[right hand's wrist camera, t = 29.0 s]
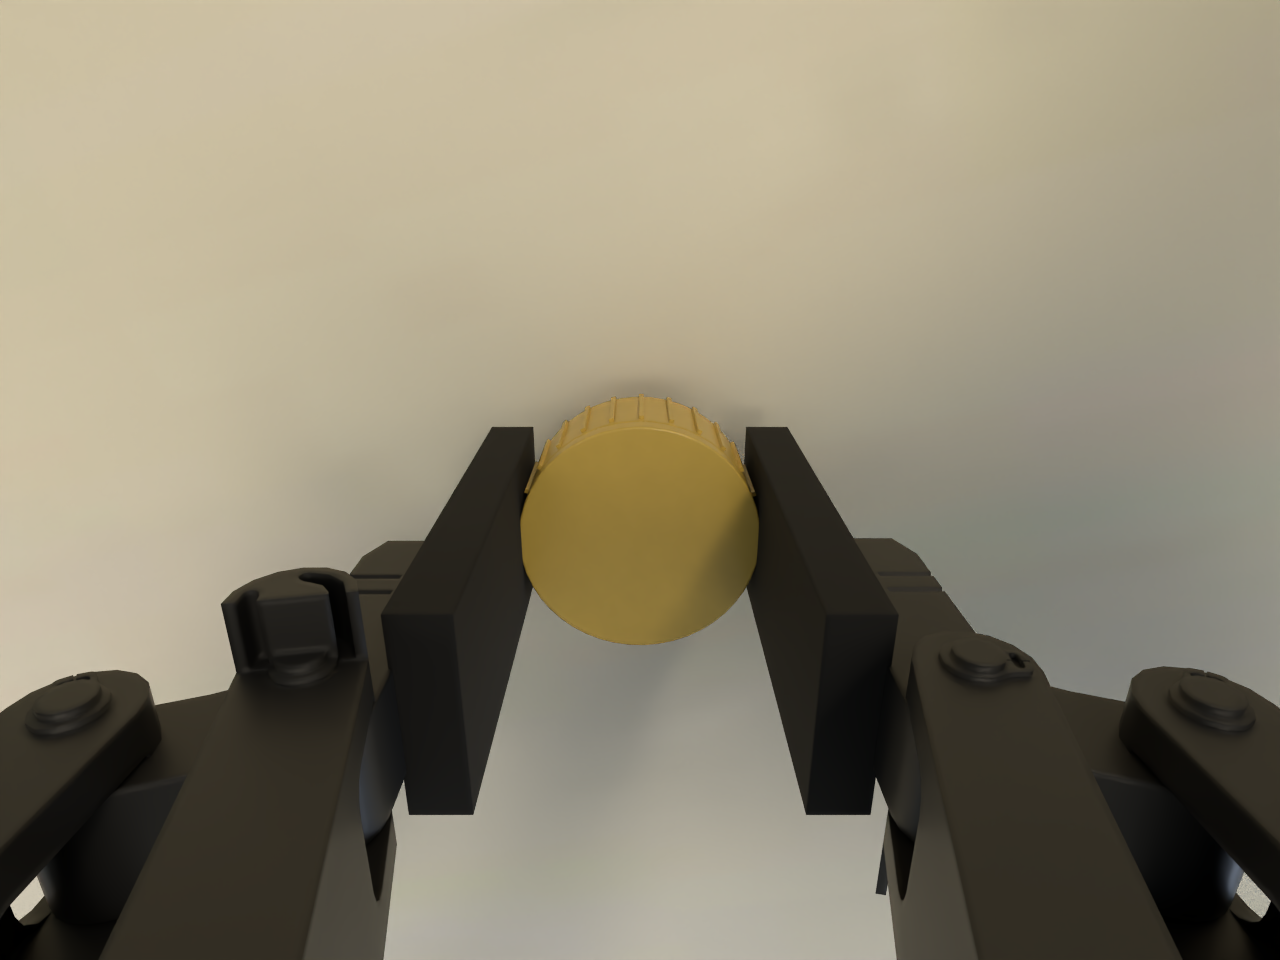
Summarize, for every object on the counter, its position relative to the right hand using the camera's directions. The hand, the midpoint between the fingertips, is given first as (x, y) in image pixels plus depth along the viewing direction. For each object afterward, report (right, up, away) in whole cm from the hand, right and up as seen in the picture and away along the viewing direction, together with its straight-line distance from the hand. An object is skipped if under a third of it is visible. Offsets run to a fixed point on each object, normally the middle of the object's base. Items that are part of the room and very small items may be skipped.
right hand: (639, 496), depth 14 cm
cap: (0, -1, -2) cm, 2 cm away
